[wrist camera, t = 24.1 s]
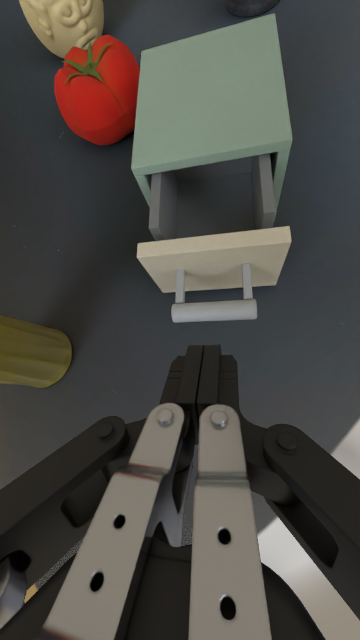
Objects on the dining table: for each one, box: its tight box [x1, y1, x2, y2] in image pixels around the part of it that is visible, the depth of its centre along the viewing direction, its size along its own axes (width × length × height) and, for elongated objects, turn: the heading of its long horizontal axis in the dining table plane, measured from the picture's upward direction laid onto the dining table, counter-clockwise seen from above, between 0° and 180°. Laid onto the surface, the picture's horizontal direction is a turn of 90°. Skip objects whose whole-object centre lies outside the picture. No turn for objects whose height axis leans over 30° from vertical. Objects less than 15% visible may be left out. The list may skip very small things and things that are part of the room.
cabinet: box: [131, 13, 292, 221], centre depth 24 cm, size 14×12×9 cm
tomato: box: [54, 35, 140, 145], centre depth 30 cm, size 11×11×8 cm
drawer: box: [137, 153, 291, 322], centre depth 21 cm, size 17×10×7 cm, turn 179°
